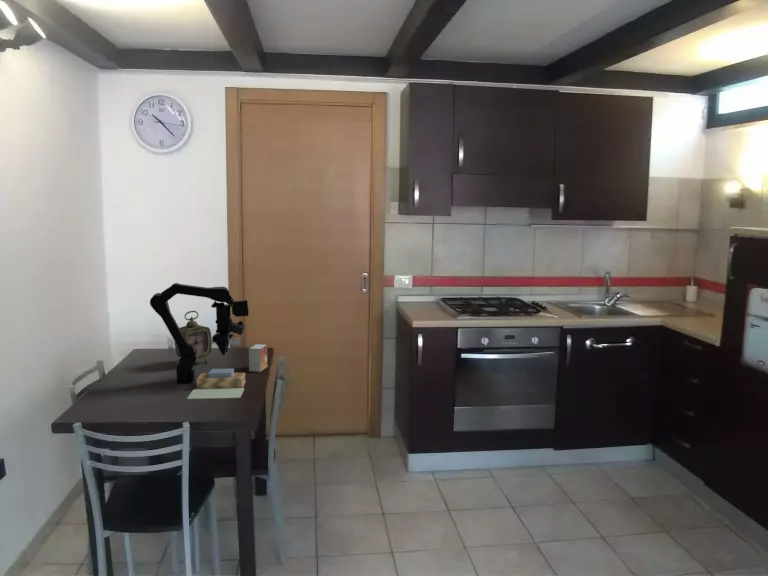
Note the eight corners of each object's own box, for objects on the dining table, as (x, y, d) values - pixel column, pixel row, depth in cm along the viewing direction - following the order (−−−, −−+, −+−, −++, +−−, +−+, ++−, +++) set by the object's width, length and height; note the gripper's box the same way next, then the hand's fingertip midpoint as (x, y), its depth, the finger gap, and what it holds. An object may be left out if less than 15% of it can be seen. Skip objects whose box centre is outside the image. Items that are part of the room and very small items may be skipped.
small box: (260, 372, 259) (260, 349, 257) (249, 371, 260) (248, 348, 258) (267, 367, 267) (267, 344, 265) (256, 366, 268) (255, 343, 266)
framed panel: (197, 388, 236) (196, 379, 235) (201, 382, 244) (201, 373, 243) (242, 388, 237) (242, 378, 237) (245, 381, 245) (245, 372, 245)
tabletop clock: (184, 369, 262) (181, 314, 259) (173, 365, 268) (170, 311, 264) (212, 362, 273) (210, 309, 269) (201, 359, 279) (199, 307, 275)
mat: (186, 399, 224) (186, 398, 224) (193, 389, 235) (193, 389, 235) (240, 398, 226) (240, 397, 226) (244, 388, 237) (244, 388, 237)
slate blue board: (208, 378, 237) (208, 373, 237) (211, 373, 243) (211, 368, 243) (231, 377, 238) (231, 372, 238) (234, 373, 244) (233, 368, 244)
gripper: (239, 321, 237) (240, 359, 239) (246, 312, 255) (247, 347, 258) (211, 322, 236) (212, 359, 238) (220, 312, 254) (221, 347, 257)
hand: (224, 353), depth 248 cm, fingers open, 5 cm apart
